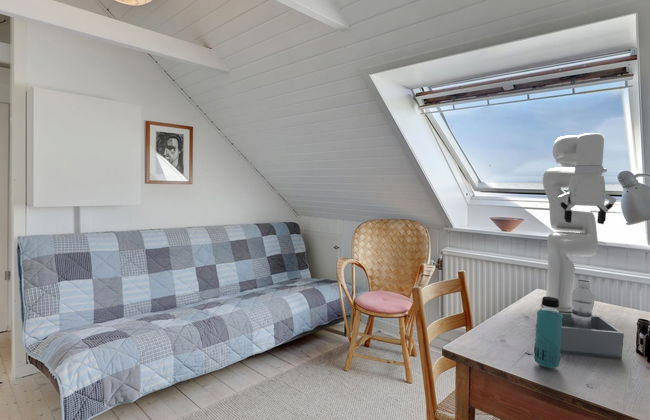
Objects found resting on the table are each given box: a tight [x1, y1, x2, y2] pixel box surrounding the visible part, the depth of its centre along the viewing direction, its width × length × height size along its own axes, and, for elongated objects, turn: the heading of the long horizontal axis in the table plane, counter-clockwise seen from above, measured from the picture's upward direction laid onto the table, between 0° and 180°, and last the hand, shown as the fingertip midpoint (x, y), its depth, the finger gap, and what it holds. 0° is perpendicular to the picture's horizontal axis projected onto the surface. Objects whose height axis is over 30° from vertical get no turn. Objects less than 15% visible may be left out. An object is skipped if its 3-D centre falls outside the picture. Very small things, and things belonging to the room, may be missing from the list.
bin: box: [560, 312, 625, 361], centre depth 124 cm, size 15×17×8 cm
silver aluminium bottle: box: [570, 279, 596, 329], centre depth 124 cm, size 6×7×20 cm
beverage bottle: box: [533, 296, 563, 369], centre depth 109 cm, size 6×7×20 cm
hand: (584, 222), depth 132 cm, fingers open, 9 cm apart
